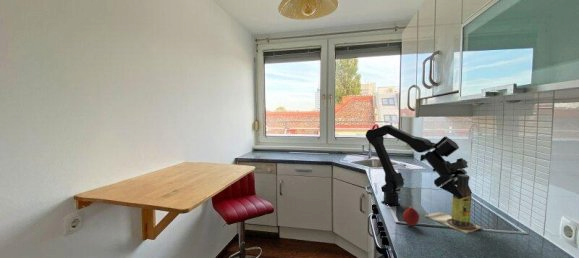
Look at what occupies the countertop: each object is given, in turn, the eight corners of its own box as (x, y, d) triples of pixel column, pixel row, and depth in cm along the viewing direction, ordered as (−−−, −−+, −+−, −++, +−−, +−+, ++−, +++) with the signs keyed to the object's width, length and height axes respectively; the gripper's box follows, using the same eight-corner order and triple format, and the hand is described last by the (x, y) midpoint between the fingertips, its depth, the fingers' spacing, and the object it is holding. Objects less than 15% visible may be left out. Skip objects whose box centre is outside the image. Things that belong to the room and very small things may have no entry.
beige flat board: (425, 216, 111) (425, 214, 111) (440, 213, 116) (441, 211, 115) (465, 233, 96) (465, 231, 96) (482, 228, 100) (482, 226, 100)
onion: (415, 223, 105) (416, 204, 104) (421, 229, 99) (421, 209, 98) (400, 222, 105) (401, 203, 105) (405, 228, 99) (406, 208, 99)
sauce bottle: (464, 228, 98) (467, 177, 97) (447, 222, 104) (450, 174, 103) (473, 225, 102) (475, 175, 100) (456, 219, 107) (458, 172, 106)
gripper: (444, 153, 98) (476, 189, 90) (462, 150, 109) (492, 181, 101) (422, 170, 105) (450, 204, 97) (442, 165, 116) (468, 195, 108)
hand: (466, 195), depth 101 cm, fingers open, 9 cm apart
